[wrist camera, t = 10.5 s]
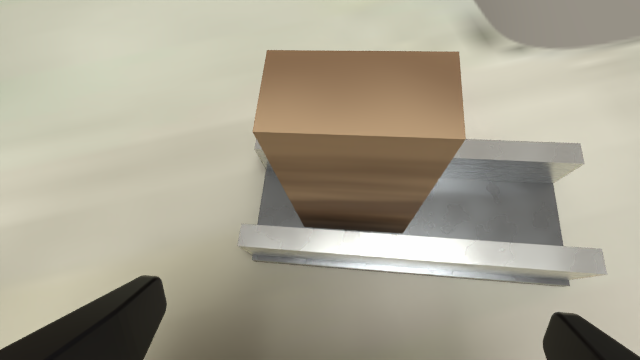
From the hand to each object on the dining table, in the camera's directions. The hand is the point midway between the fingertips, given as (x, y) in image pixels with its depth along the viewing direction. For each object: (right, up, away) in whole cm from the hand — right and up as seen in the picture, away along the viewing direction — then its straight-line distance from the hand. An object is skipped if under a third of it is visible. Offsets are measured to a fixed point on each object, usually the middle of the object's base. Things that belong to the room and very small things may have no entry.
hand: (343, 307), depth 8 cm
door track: (+5, +1, +14) cm, 14 cm away
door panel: (+2, +1, +13) cm, 14 cm away
